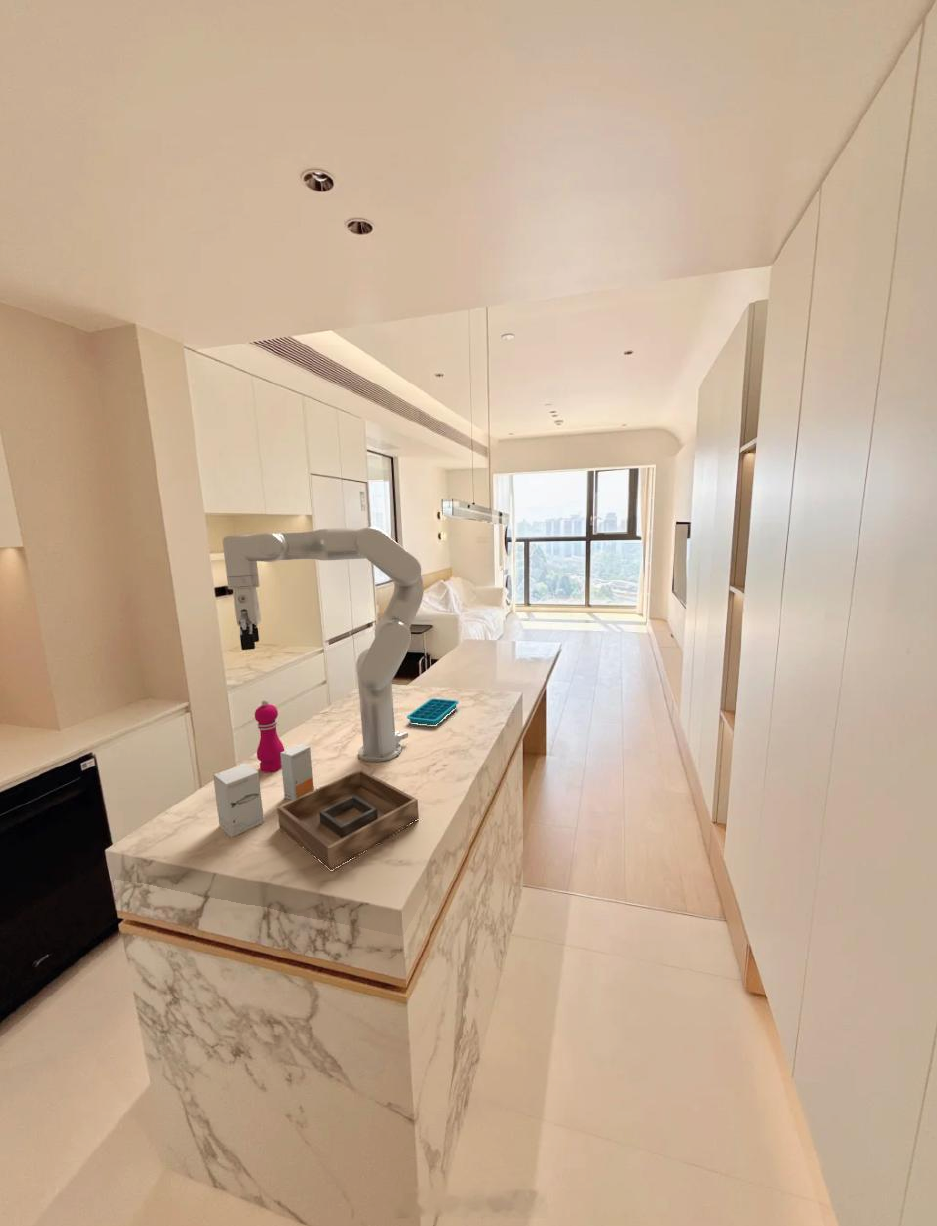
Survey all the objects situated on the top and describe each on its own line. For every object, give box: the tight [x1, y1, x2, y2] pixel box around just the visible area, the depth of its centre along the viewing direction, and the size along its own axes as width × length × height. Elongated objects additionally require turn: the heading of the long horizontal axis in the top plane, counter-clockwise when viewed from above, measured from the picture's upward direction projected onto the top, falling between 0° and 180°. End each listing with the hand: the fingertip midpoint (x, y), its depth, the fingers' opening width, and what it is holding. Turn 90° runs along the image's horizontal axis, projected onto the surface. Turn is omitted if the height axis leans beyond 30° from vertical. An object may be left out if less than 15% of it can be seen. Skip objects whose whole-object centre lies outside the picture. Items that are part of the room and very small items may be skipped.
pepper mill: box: [254, 699, 285, 773], centre depth 134 cm, size 7×7×20 cm
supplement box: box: [212, 762, 265, 838], centre depth 107 cm, size 7×7×13 cm
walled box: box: [276, 769, 420, 871], centre depth 106 cm, size 22×22×5 cm
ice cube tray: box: [406, 698, 459, 725], centre depth 169 cm, size 12×20×3 cm, turn 158°
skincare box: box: [280, 743, 315, 801], centre depth 119 cm, size 6×4×12 cm
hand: (250, 645), depth 128 cm, fingers open, 9 cm apart
